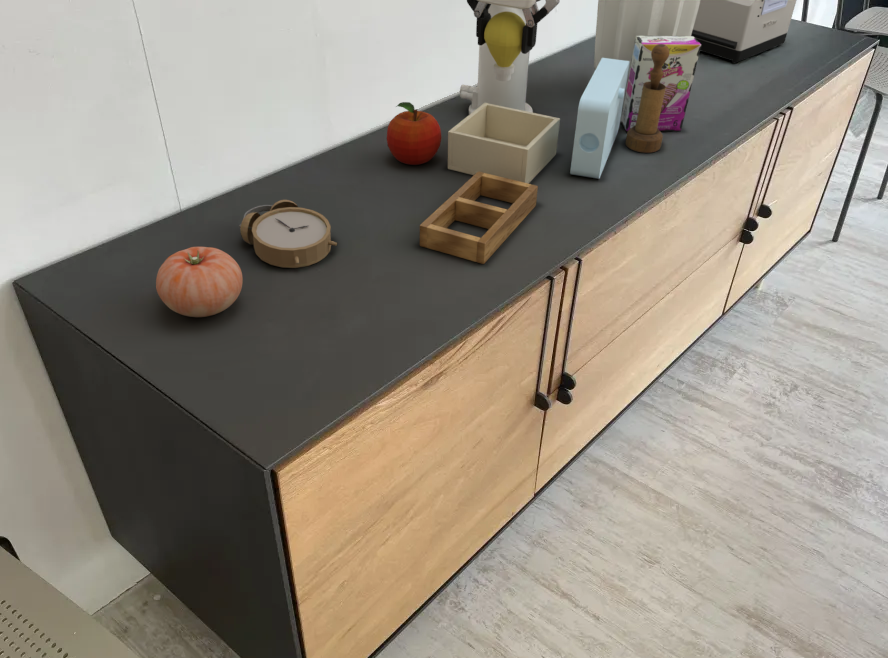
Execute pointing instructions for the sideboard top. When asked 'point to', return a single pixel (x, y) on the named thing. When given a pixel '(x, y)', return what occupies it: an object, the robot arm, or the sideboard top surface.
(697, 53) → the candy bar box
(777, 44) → the toaster
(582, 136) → the radio
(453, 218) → the wooden frame
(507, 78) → the light bulb
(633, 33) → the vase
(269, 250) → the alarm clock
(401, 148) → the fruit
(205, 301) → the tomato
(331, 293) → the sideboard top surface
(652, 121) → the mortar and pestle
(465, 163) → the wooden box
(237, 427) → the sideboard top surface
